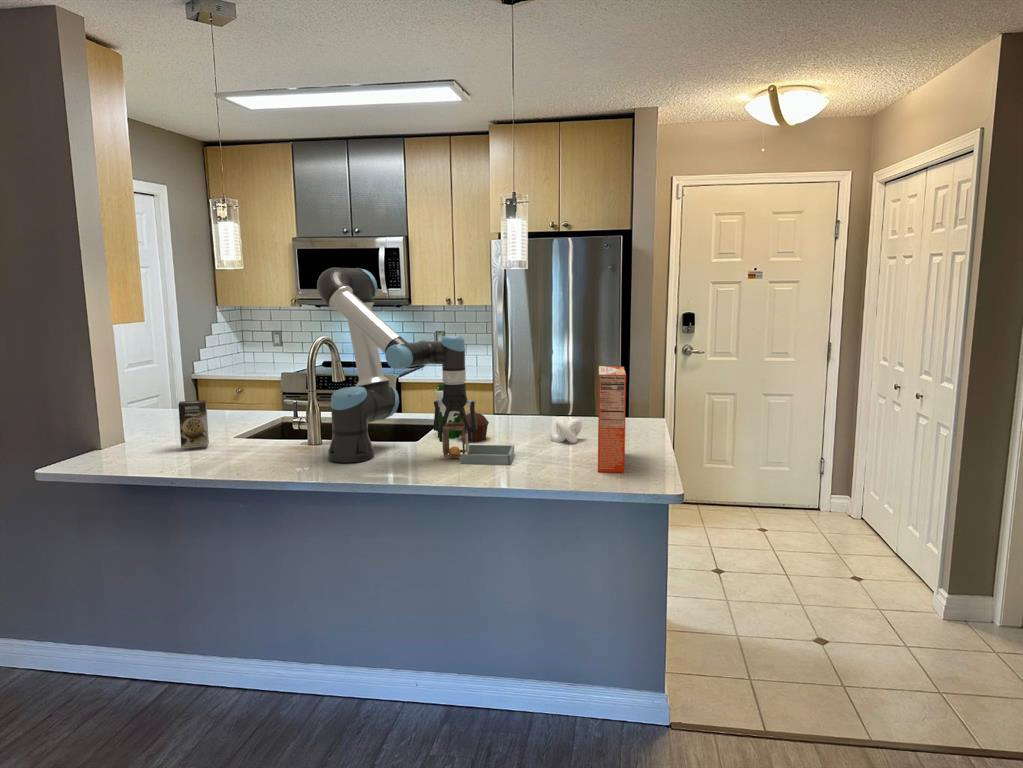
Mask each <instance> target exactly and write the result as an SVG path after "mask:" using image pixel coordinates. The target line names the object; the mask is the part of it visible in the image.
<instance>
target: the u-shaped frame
mask: <svg viewBox="0 0 1023 768" xmlns="http://www.w3.org/2000/svg"><path fill="white" fill-rule="evenodd" d="M460 454H461V457H460V465H461V464H462V465H495V466H496V465H502V466H503V465H506V466H507V465H508V466H510V465H511V464H512V461H513V459H514V456H515V445H514V444H511V445H509V444H505V445H504V444H469V452H468V453H465V454H463V453H460Z"/></svg>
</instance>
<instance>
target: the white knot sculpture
mask: <svg viewBox="0 0 1023 768" xmlns="http://www.w3.org/2000/svg"><path fill="white" fill-rule="evenodd" d="M582 427H583V423H582V421H581V419H579V418H573V419H571V420H570V419H569V418H568V417H566V416H557V418H555V419H554V420H553V421H552V423H551V424H550V428H549V437H550V440H551V441H552V442H553V443H564V442H565V441H566V440H567V441H568V442H569V443H570V444H576V443H577V442H578V435H579V434H580V433H581V430H582V429H583V428H582Z"/></svg>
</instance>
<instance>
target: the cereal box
mask: <svg viewBox="0 0 1023 768" xmlns="http://www.w3.org/2000/svg"><path fill="white" fill-rule="evenodd" d="M626 400H627V373H626V370H625V366H622V365H621V366H620V365H619V366H617V365H616V366H613V365H612V366H611V365H610V366H609V365H607V366H606V365H604V366H603V365H599V366H598V412H597V413H598V415H597V416H598V418H597V419H598V420H597V421H598V424H597V428H598V431H597V432H598V435H597V438H598V439H597V472H598V473H599V472H600V473H625V467H626V466H625V465H626V464H625V461H626V460H625V459H626V458H625V457H626V456H625V455H626V412H627V411H626V406H627V405H626V404H627V403H626Z"/></svg>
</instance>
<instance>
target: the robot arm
mask: <svg viewBox="0 0 1023 768" xmlns="http://www.w3.org/2000/svg"><path fill="white" fill-rule="evenodd" d="M377 283H378V282H377V280H376V278H375V276H374V275H373V274H372V272H370V271H369V270H367V269H363V268H359V267H354V268H353V267H330V268H327V269H326V270H324V271H323V272H321V274H320V275H319V277H318V280H317V283H316V289H317V293H318V295H319V298H320V299H321V300H322V301H323V303H324V304H325V305H327V306H328V308H329V309H331V310H332V311H338V313H340V314H341V315H342V316H343V317H344V318H345V319H346V321H347V325H348V330H349V336H350V341H351V344H352V345H351V346H352V350H353V355H354V361H355V367H356V371H357V376H358V381H357V383H356V385H355V386H349V387H342V388H339V389H337V390H334V391H333V392H332V394H331V397H330V398H331V399H330V409H331V411H330V412H331V424H332V425H331V426H332V427H331V428H332V436H331V441H330V445H329V448H328V452H327V457H328V460H329V461H331V462H335V463H357V462H363V461H369V460H371V459H372V458H374V457H375V450H374V447H373V443H372V441H371V438H370V437H369V429H368V427H369V425H368V424H370V423H372V422H373V423H374V422H376V421H381V420H386V419H387V418H390V417H392V416H393V415H394V414H395V413H396V411H397V410H398V408H399V404H400V396H399V393H398V391H397V389H396V388H395V387H393V386H391V385H390V380H389V378H387V377H386V376H385V375H384V372H383V367H382V362H381V361H382V360H381V357H380V352H379V350H380V351H381V352H382V353H384V354H385V355H384V356H385V360H386V362H387V365H388V366H389V367H391V368H392V369H400V370H403V369H408V368H412V367H420V366H424V365H441V367H442V368H441V369H442V371H441V372H442V384H443V398H442V400H437V399H436V400H435V401H434V402H433V405H434V418H433V431H435V432H437V433H438V432H439V440H438V441H439V443H441V444H442V448H443V426H444V425H445V424H446V422H447V419H448V416H449V413H450V411H459V413H460V414H461V417H462V419H463V422H464V424H465V427H466V429H467V432H466V433H465V450H466V452H465V454H467V453H468V452H469V445H470V443H472V442H471V441H472V432H473V431H476V430H477V421H476V414H475V413H476V408H475V407H476V400H471V399H468V398H467V386H466V385H467V384H466V383H465V382H467V381H466V380H467V379H466V346H465V343H466V342H465V338H464V336H463V335H443V336H442V337H441V341H432V340H431V341H429V340H418V341H414V342H412V343H411V342H410V343H409V342H408V341H407V340H405V338H404V337H402V336H401V335H399V333H398V332H396V331H395V329H393V328H392V327H391V326H390V325H389V324H387V323H386V321H385V320H384V319H382V318H381V317H379V316H378V314H376V313H375V312H374V311H373V310H372V308H373V306H374V305H375V303H374V299H375V298H376V295H377V294H376V293H378V284H377ZM442 403H443V404H444V406H445V407H446V410H445V414H444V417H443V420H442V423H441V425H440V427H438V426H439V415H440V406H441V404H442ZM467 404H468V405H467ZM466 405H467V406H468V407H469V411H470V412H469V413H470V414H471V421H472V428H471V425H470V423H469V420H468V418H467V415H466V414H467V413H466V410H465V406H466Z"/></svg>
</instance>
